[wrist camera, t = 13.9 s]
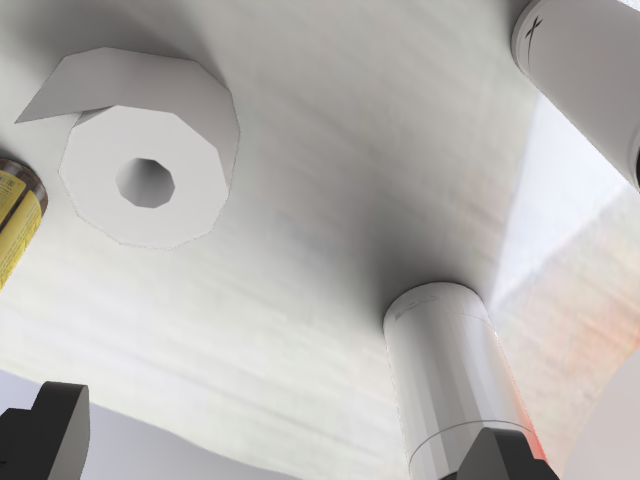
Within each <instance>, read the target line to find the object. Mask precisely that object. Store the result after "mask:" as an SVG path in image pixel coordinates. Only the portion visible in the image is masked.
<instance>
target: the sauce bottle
mask: <svg viewBox="0 0 640 480" xmlns="http://www.w3.org/2000/svg"><path fill="white" fill-rule="evenodd" d="M47 205H48V197H47V193H46V191H45V188H44V186H43V184H42V183H41V181H40V180H39V179H38V177H37V175H36V174H35V173H33V172H32V171H31V170H30V169H29V168H27V167H25V166H23V165H21V164H19V163H17V162H14V161H11V160H8V159H5V158H0V291H1V290H2V288H3V286H4V285H5V283H6V281H7V279H8V278H9V276H10V274H11V273H12V271H13V269H14V267H15V266H16V264H17V262H18V261H19V259H20V257H21V256H22V254H23V252H24V251H25V249H26V247H27V246H28V244H29V242H30V241H31V239H32V237H33V236H34V234H35V232H36V231H37V229H38V227H39V225H40V222H41V218H42V217H43V215H44V213H45V210H46V208H47Z"/></svg>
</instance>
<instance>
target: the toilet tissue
mask: <svg viewBox="0 0 640 480" xmlns="http://www.w3.org/2000/svg"><path fill="white" fill-rule="evenodd" d="M81 111H85V112H84V113H83V114H82V116H81V117H80V118H79V120H78V121H77V122H76V124H75V125H74V126H73V128H72V129H71V132H70V136H69V139H68V142H67V145H66V149H65V152H64V155H63V158H62V162H61V165H60V168H59V171H58V173H59V175H60V178H61V180H62V182H63V184H64V186H65V188H66V191H67V193H68V195H69V197H70V199H71V202H72V204H73V206H74V208H75V210H76V212H77V215H78V216H79V217H80V218H82V219H83V220H85V221H86V222H88V223H89V224H91V225H92V226H94V227H95V228H97V229H98V230H100V231H101V232H103V233H104V234H106V235H107V236H109V237H110V238H112V239H113V240H114V241H116V242H117V243H119V244H120V245H129V246H137V247H146V248H155V249H163V250H171V249H173V248H176V247H178V246H180V245H182V244H185V243H187V242H189V241H191V240H194V239H196V238H198V237H200V236H203V235H205V234H207V233H209V232H211V230H212V228H213V226H214V224H215V222H216V220H217V218H218V216H219V214H220V212H221V210H222V208H223V206H224V204H225V202H226V200H227V198H228V196H229V193H230V188H231V182H232V176H233V171H234V165H235V159H236V154H237V148H238V142H239V137H240V129H239V125H238V120H237V116H236V112H235V108H234V104H233V100H232V95H231V92H230V91H229V90H228V89H227V88H226V87H224V86H223V85H222V84H221V83H220V82H219V81H218V80H217V79H215V78H214V77H213V76H212V75H211V74H210V73H209V72H208V71H207V70H205V69H204V68H203V67H202V66H201V65H200V64H199V63H198V62H197V61H191V60H185V59H179V58H172V57H166V56H160V55H153V54H147V53H141V52H135V51H128V50H122V49H116V48H109V47H102V48H97V49H93V50H89V51H85V52H81V53H77V54H72V55H68V56H65V57H64V58H63V59H62V61H61V62H60V63H59V65H58V66H57V67H56V69H55V70H54V71H53V73H52V74H51V75H50V77H49V78H48V79H47V81H46V82H45V83H44V85H43V86H42V87H41V89H40V90H39V91H38V92H37V94H36V95H35V96H34V98H33V99H32V100H31V102H30V103H29V104H28V106H27V107H26V108H25V110H24V111H23V112H22V114H21V115H20V116H19V118H18V119H17V120H16V122H15V123H20V122H25V121H31V120H37V119H42V118H48V117H53V116H59V115H65V114H70V113H76V112H81Z"/></svg>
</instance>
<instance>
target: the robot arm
mask: <svg viewBox="0 0 640 480" xmlns="http://www.w3.org/2000/svg"><path fill="white" fill-rule="evenodd" d="M383 330H384V336H385V341H386V347H387V353H388V358H389V365H390V370H391V376H392V381H393V387H394V392H395V398H396V403H397V408H398V414H399V419H400V425H401V430H402V436H403V441H404V447H405V452H406V457H407V463H408V468H409V473H410V478H411V480H560V479H559V478H558V476H557V475H556V474H555V473H554V471H553V470H552V469H551V467H550V465H549V463H548V460H547V458H546V455H545V453H544V450H543V448H542V446H541V444H540V441H539V439H538V436H537V434H536V431H535V429H534V426H533V424H532V422H531V419H530V417H529V414H528V412H527V409H526V407H525V404H524V402H523V399H522V397H521V395H520V392H519V390H518V387H517V385H516V382H515V380H514V377H513V375H512V372H511V370H510V368H509V365H508V363H507V360H506V358H505V355H504V353H503V350H502V348H501V345H500V343H499V341H498V338H497V335H496V333H495V330H494V328H493V325H492V323H491V320H490V318H489V315H488V313H487V311H486V308H485V306H484V303H483V302H482V300H481V299H480V297H479V296H478V295H477V294H476V293H475V292H474V291H472V290H471V289H469V288H467V287H465V286H462V285H459V284H455V283H447V282H437V283H429V284H425V285H420V286H418V287H415V288H413V289H411V290H409V291H407V292H405V293H404V294H402V295H401V296H400V297H398V298H397V299H396V300H395V301H394V302H393V303H392V304H391V306H390V307H389V308H388V310H387V312H386V314H385V317H384V322H383ZM89 418H90V417H89V390H88V386H87V385H81V384H71V383H61V382H51V381H46V382H45V383H44V384H43V385H42V387H41V389H40V391H39V393H38V395H37V398H36V400H35V402H34V404H33V406H32V408H31V410H25V409H16V408H8V409H7V410H6V411H5V412H4V413H3V414H2V415H1V416H0V480H80V476H81V474H82V470H83V467H84V464H85V461H86V457H87V452H88V447H89V440H90V419H89Z"/></svg>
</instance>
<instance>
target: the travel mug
mask: <svg viewBox="0 0 640 480" xmlns="http://www.w3.org/2000/svg"><path fill="white" fill-rule="evenodd" d="M511 48H512V55H513V58H514V61H515V63H516V65H517V66H518V68H519V69H520V71H521V72H522V73H523V74H524V75H525V76H526V77H527V78H528V79H529V80H530V81H531V82H532V83H533V84H534V85H535V86H536V87H537V88H538V89H539V90H540V91H541V92H542V93H543V94H544V95H545V96H546V97H547V98H548V100H549V101H550V102H551V103H552V104H553V105H554V106H555V107H556V108H557V109H558V110H559V111H560V112H561V113H562V114H563V115H564V116H565V117H566V118H567V119H568V120H569V121H570V122H571V123H572V124H573V125H574V126H575V127H576V128H577V129H578V130H579V131H580V132H581V133H582V135H583V136H584V137H585V138H586V139H587V140H588V141H589V142H590V143H591V144H592V145H593V146H594V147H595V148H596V149H597V150H598V151H599V152H600V153H601V154H602V155H603V156H604V157H605V158H606V159H607V160H608V161H609V162H610V163H611V164H612V165H613V166H614V167H615V168H616V170H617V171H618V172H619V173H620V174H621V175H622V176H623V177H624V178H625V179H626V180H627V181H628V182H629V183H630V184H631V185H632V186H633V187H634V188H635V189H636V190H637V191H638V192H639V193H640V12H639V11H637V10H635V9H633V8H631V7H629V6H627V5H625V4H623V3H621V2H619V1H618V0H532V1H531V2H530V3H529V4H528V5H527V6H526V7H525V9H524V10H523V12H522V13H521V15H520V16H519V18H518V20H517V22H516V25H515V27H514V31H513V34H512V42H511Z"/></svg>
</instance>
